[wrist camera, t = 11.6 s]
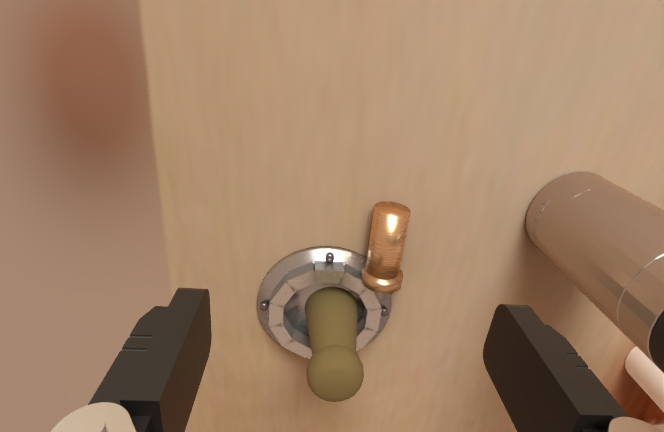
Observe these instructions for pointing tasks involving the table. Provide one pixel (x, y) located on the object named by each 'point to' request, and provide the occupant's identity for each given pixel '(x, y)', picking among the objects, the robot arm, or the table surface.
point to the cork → (333, 344)
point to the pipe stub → (386, 248)
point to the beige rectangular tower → (646, 375)
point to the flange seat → (304, 279)
